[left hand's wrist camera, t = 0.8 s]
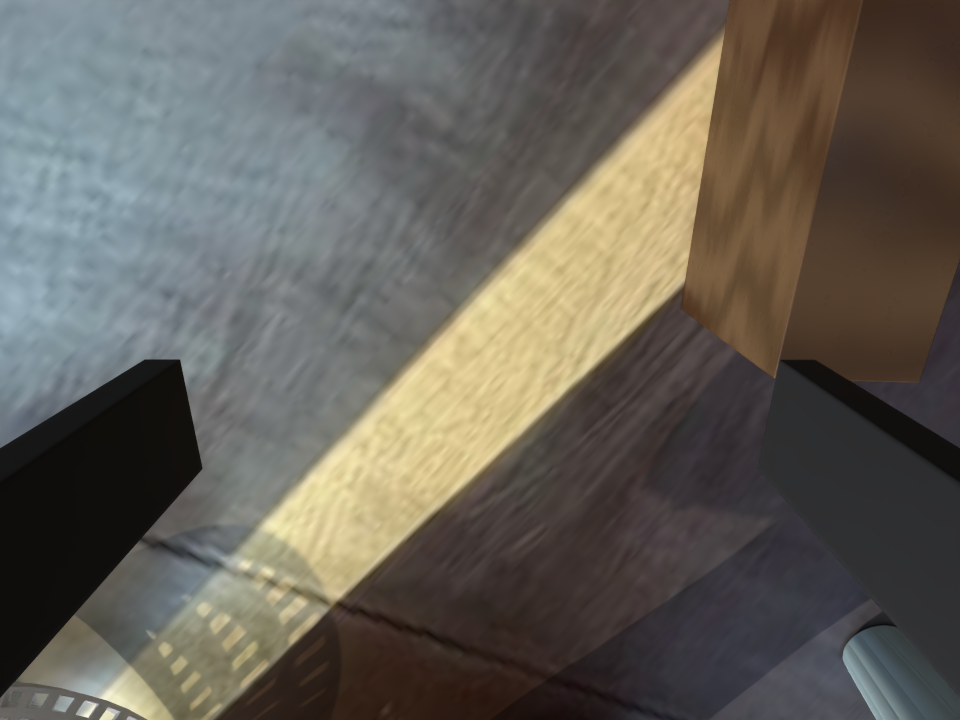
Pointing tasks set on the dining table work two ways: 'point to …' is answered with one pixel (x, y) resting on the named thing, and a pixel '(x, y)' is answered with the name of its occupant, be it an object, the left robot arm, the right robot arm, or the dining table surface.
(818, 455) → the left robot arm
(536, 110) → the dining table surface
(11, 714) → the decorative object
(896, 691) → the cup
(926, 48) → the box
